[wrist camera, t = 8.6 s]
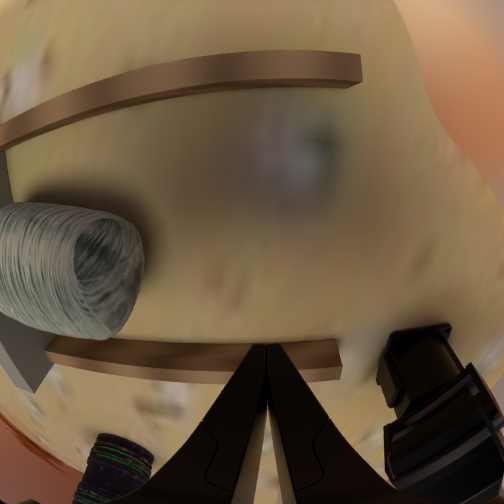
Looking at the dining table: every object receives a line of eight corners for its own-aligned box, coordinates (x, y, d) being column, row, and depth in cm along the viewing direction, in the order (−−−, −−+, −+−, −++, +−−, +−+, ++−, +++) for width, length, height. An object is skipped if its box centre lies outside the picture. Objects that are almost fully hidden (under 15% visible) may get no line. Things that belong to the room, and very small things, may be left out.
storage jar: (107, 453, 36) (85, 519, 22) (88, 426, 32) (56, 502, 18) (160, 467, 36) (143, 540, 22) (147, 443, 31) (123, 531, 18)
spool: (156, 182, 14) (27, 352, 8) (178, 283, 21) (112, 400, 15) (25, 149, 16) (-61, 241, 10) (62, 231, 23) (2, 311, 17)
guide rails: (344, 65, 13) (360, 54, 11) (333, 352, 22) (339, 379, 19) (2, 133, 15) (-22, 139, 12) (63, 343, 24) (50, 362, 21)
